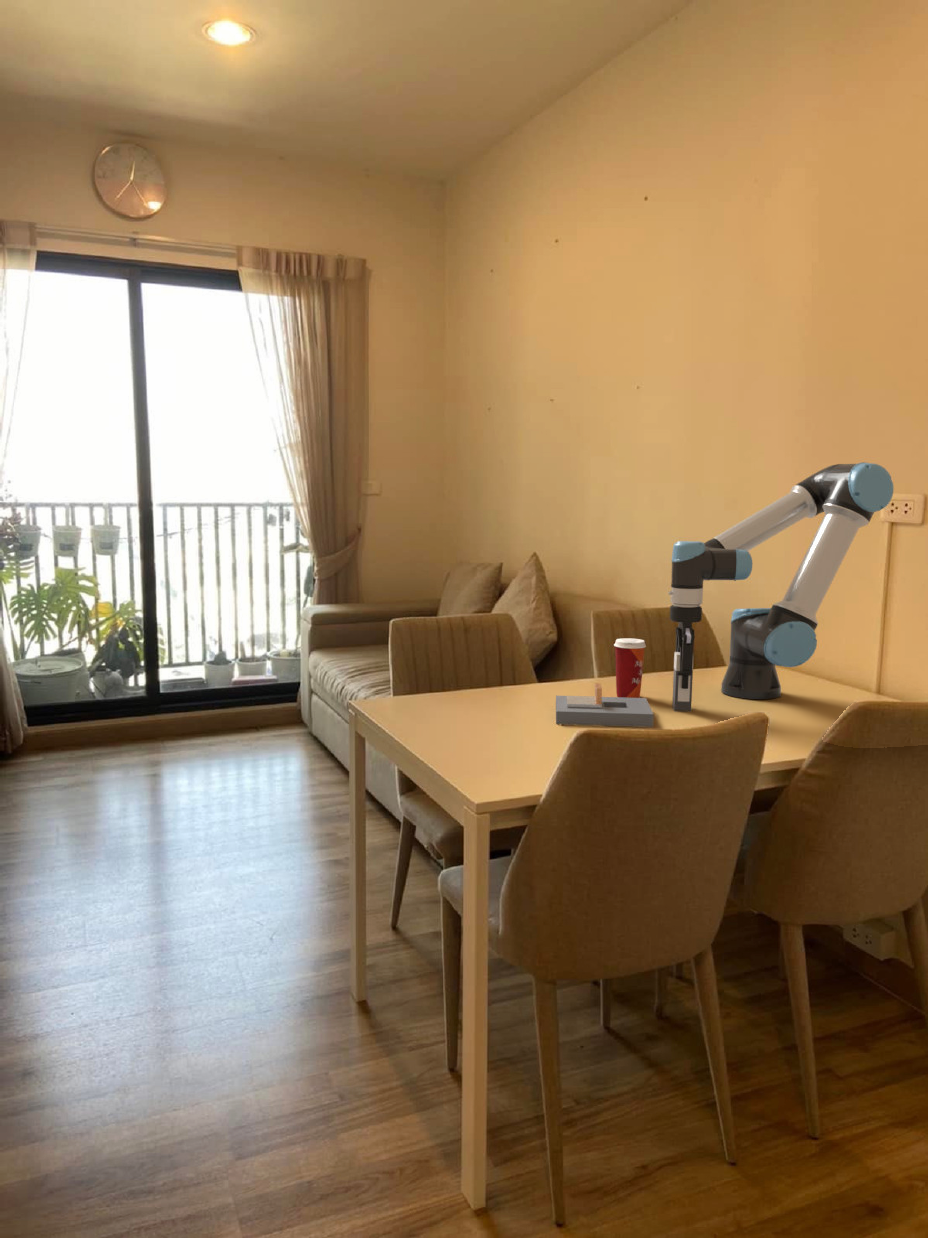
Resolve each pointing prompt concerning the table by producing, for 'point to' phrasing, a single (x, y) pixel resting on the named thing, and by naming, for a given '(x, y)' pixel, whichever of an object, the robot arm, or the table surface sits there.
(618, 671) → the coffee cup
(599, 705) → the light gray plate
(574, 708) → the block
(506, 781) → the table surface
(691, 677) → the grey white tall block
